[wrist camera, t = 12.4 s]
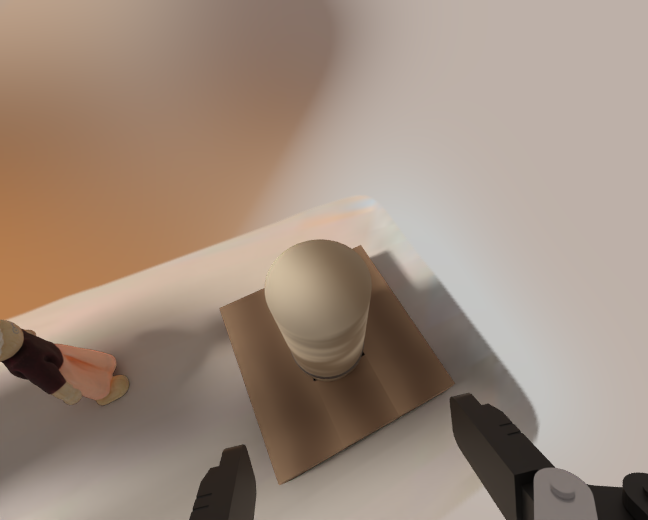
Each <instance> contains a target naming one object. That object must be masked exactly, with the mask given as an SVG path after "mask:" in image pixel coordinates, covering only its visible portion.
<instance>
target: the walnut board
mask: <svg viewBox="0 0 648 520" xmlns="http://www.w3.org/2000/svg"><path fill="white" fill-rule="evenodd" d="M352 250H354V251H355V252H356V253H357V254H358V255H359V256H360V257H361V258H362V259H363V260H364V262H365V263H366V265H367V267H368V269H369V272H370V276H371V281H372V290H371V298H370V304H369V311H368V318H367V324H366V331H365V338H364V349H363V353H362V356H361V359H360V361H359V363H358V365H357V366H356V368H355V369H354V370H353V371H352V372H351V373H350V374H348V375H347V376H345V377H343V378H341V379H339V380H335V381H320V380H316V381H314V380H313V378H311V377H310V376H308V375H307V374H305V373H304V372H303V371H302V370H301V369H300V367H299V366H298V365H297V363H296V362H295V360H294V358H293V356H292V354H291V351H290V349H289V347H288V345H287V343H286V341H285V339H284V337H283V335H282V333H281V331H280V329H279V327H278V325H277V323H276V321H275V319H274V317H273V315H272V313H271V311H270V309H269V307H268V305H267V302H266V298H265V288H264V289H261V290H259V291H257V292H255V293H252V294H250V295H248V296H246V297H244V298H241V299H239V300H237V301H235V302H232V303H230V304H228V305H226V306H223V307H221V308H219V309H220V312H221V315H222V318H223V321H224V323H225V326H226V329H227V332H228V335H229V338H230V341H231V344H232V347H233V350H234V353H235V356H236V359H237V362H238V365H239V368H240V371H241V374H242V377H243V380H244V383H245V386H246V389H247V392H248V395H249V398H250V401H251V404H252V407H253V410H254V413H255V415H256V418H257V421H258V424H259V427H260V430H261V433H262V436H263V439H264V442H265V445H266V448H267V451H268V454H269V457H270V460H271V463H272V466H273V469H274V472H275V475H276V478H277V481H278V484H279V485H281V484H283V483H286V482H288V481H290V480H291V479H293V478H295V477H297V476H298V475H300V474H302V473H304V472H305V471H307V470H309V469H310V468H312V467H314V466H316V465H317V464H319V463H321V462H323V461H324V460H326V459H328V458H330V457H331V456H333V455H335V454H337V453H338V452H340V451H342V450H343V449H345V448H347V447H349V446H350V445H352V444H354V443H356V442H357V441H359V440H361V439H363V438H364V437H366V436H368V435H369V434H371V433H373V432H375V431H376V430H378V429H380V428H382V427H383V426H385V425H387V424H389V423H390V422H392V421H394V420H396V419H397V418H399V417H401V416H402V415H404V414H406V413H408V412H409V411H411V410H413V409H415V408H416V407H418V406H420V405H422V404H423V403H425V402H427V401H428V400H430V399H432V398H434V397H435V396H437V395H439V394H441V393H442V392H444V391H446V390H447V389H448V388H450V387H451V386H453V385H454V384H455V383H454V381H453V380H452V378H451V377H450V375H449V374H448V372H447V371H446V370H445V368H444V367H443V365H442V364H441V362H440V361H439V359H438V358H437V356H436V355H435V353H434V352H433V350H432V349H431V348H430V346H429V345H428V343H427V342H426V340H425V339H424V337H423V336H422V334H421V333H420V331H419V330H418V328H417V327H416V325H415V324H414V323H413V321H412V320H411V318H410V317H409V315H408V314H407V312H406V311H405V309H404V308H403V306H402V305H401V303H400V302H399V301H398V299H397V298H396V296H395V295H394V293H393V292H392V290H391V289H390V287H389V286H388V284H387V283H386V281H385V280H384V278H383V277H382V276H381V274H380V273H379V271H378V270H377V268H376V267H375V265H374V264H373V262H372V261H371V259H370V258H369V256H368V255H367V254H366V252H365V251H364V249H363V248H362V246H361V245H360V246H358V247H355V248H353V249H352Z"/></svg>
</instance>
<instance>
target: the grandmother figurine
mask: <svg viewBox="0 0 648 520" xmlns="http://www.w3.org/2000/svg"><path fill="white" fill-rule="evenodd" d="M0 362H2V363H4V364H5V366H6V367H7V368H8V370H9V371H10V373H12V374H13V375H14V376H17V377H19V378H22V379H27V380H29V381H31V382H32V383H33V384H35V385H37V386H38V387H39V388H41V389H42V390H43V391H45V392H46V393H48V394H51V395H53V396H55V397H56V398H58V399H63V401H64V402H65V403H66V404H68V405H73V404H76V403H77V402H79V401H80V399H81V397H82V396H84V397H87V398H91V399H94V400H96V402H97V403H98V404H99V405H106V404H108V403H110V402H112V401H114V400H116V399H118V398H120V397H121V396H123V395H124V394H125V393H126V392H127V390H128V388H129V381H128V379H127V377H126V376H124V375H116V376H113V375H112V374H113V372H114V370H115V368H116V359H115V357H114V356H112V355H110V354H107V353H104V352H100V351H95V350H91V349H84V348H77V347H73V346H68V345H63V344H53V343H52V342H49V341H46V340H44V339H41V338H39V337H37V336H36V333H35V332H34V331H32V330H24V329H21V328H20V327H18V326H17V325H16V324H14V323H12V322H10V321H6V320H0Z"/></svg>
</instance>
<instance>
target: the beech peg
mask: <svg viewBox="0 0 648 520" xmlns="http://www.w3.org/2000/svg"><path fill="white" fill-rule="evenodd" d="M371 290H372V281H371V276H370V272H369V269H368V267H367V265H366V263H365V262H364V260H363V259H362V258H361V257H360V256H359V255H358V254H357V253H356V252H355V251H354V250H352V249H351V248H349V247H348V246H346V245H344V244H341V243H338V242H335V241H330V240H310V241H305V242H302V243H299V244H296V245H294V246H292V247H290V248H289V249H287V250H286V251H284V252H283V253H282V254H281V255H280V256H279V257H278V258H277V259H276V260H275V261H274V263H273V264H272V266H271V267H270V269H269V271H268V274H267V277H266V280H265V298H266V302H267V305H268V307H269V309H270V311H271V313H272V315H273V317H274V319H275V321H276V323H277V325H278V327H279V329H280V331H281V333H282V335H283V337H284V339H285V341H286V343H287V345H288V347H289V349H290V351H291V354H292V356H293V358H294V360H295V362H296V363H297V365H298V366H299V367H300V369H301V370H302V371H303V372H304V373H305V374H307V375H308V376H310V377H311V378H314V379H316V380H320V381H335V380H339V379H341V378H343V377H345V376H347V375H348V374H350V373H351V372H352V371H353V370H354V369H355V368H356V366H357V365H358V363H359V361H360V359H361V356H362V353H363V349H364V338H365V331H366V324H367V318H368V311H369V304H370V298H371Z"/></svg>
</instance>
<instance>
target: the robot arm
mask: <svg viewBox="0 0 648 520" xmlns="http://www.w3.org/2000/svg"><path fill="white" fill-rule="evenodd" d="M450 409H451V418H452V427H453V433H454V437H455V440H456V442H457V444H458V446H459V448H460V450H461V451H462V453H463V454H464V456H465V457H466V459H467V461H468V462H469V464H470V465H471V467H472V468H473V470H474V471H475V473H476V474H477V476H478V477H479V479H480V480H481V482H482V484H483V485H484V487H485V488H486V490H487V491H488V493H489V494H490V496H491V497H492V499H493V500H494V502H495V503H496V505H497V507H498V508H499V510H500V511H501V513H502V514H503V515H504V517H505V519H506V520H648V474H646V473H631V474H629V475H627V476H625V477H624V479H623V488H622V487H607V486H594V485H588V484H585V482H584V481H582V480H581V479H580V478H579V477H577V476H575V475H574V474H572V473H570V472H568V471H565V470H562V469H558V468H555V467H554V466H553V465H552V464H551V463H550V461H549V460H548V459H547V458H546V457H545V456H544V455H543V454H542V453H541V452H540V451H539V450H538V449H537V448H536V447H535V446H534V445H533V444H532V443H531V441H530V440H529V439H528V438H527V437H526V436H525V435H524V434H523V433H521V431H520V430H519V429H518V428H517V427H516V426H515V425H514V424H513V423H512V422H511V420H510V419H509V418H508V417H507V416H506V415H505V414H504V413H503V412H502V411H500V410H498V409H497V408H495V407H493V406H491V405H490V404H485V405H481V404H480V403H479V402H478V401H477V400H476V399H475V397H474V396H473V395H472V394H470V393H466V394H462V395H458V396H454V397H451V398H450ZM196 497H197V499H196V500H195V503H194V506H193V512H192V513H191V516H190V519H189V520H254V511H255V502H256V481H255V476H254V472H253V469H252V465H251V462H250V458H249V455H248V451H247V448H246V446H245V445H239V446H235V447H231V448H226V449H224V450H223V453H222V457H221V461H220V465H219V466H218V467H213V468H210V470H209V471H208V473H207V474H206V475H205V477H204V478H203V480H202V481H201V483H200V487H199V490H198V493H197V496H196Z"/></svg>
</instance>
